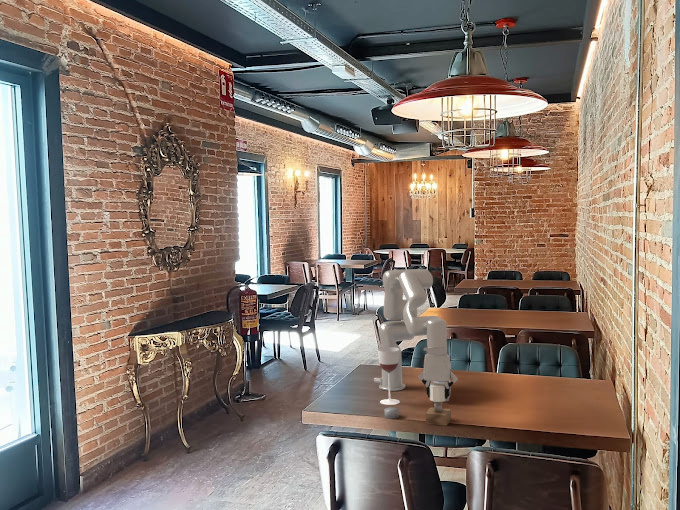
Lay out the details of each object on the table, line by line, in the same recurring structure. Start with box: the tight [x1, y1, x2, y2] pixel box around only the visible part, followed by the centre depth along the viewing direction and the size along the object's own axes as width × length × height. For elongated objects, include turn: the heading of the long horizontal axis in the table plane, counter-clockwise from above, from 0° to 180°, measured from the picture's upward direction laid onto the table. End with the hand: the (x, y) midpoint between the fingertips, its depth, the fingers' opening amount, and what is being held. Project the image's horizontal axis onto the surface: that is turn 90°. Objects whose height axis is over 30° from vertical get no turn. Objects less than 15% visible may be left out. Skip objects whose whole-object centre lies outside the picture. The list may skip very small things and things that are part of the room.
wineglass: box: [377, 347, 401, 406], centre depth 250 cm, size 9×10×23 cm
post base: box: [425, 402, 452, 426], centre depth 222 cm, size 8×8×8 cm
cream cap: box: [429, 382, 447, 403], centre depth 222 cm, size 6×6×6 cm
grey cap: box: [383, 406, 400, 420], centre depth 230 cm, size 6×6×3 cm
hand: (438, 396), depth 222 cm, fingers closed on cream cap, 6 cm apart
